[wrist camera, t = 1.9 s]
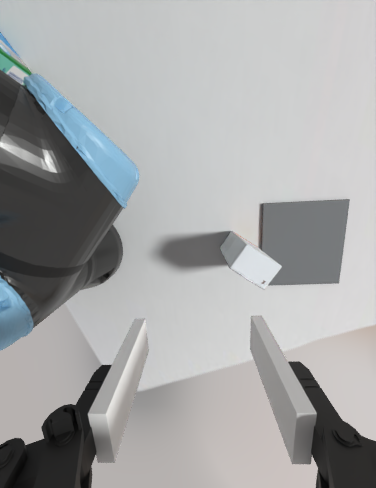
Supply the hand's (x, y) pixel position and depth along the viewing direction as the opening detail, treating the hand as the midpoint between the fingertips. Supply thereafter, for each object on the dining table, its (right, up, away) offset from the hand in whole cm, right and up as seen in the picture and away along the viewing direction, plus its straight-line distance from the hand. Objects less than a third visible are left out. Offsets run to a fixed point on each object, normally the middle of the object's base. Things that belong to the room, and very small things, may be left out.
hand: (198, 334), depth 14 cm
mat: (+21, +7, +24) cm, 32 cm away
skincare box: (+9, +6, +24) cm, 27 cm away
